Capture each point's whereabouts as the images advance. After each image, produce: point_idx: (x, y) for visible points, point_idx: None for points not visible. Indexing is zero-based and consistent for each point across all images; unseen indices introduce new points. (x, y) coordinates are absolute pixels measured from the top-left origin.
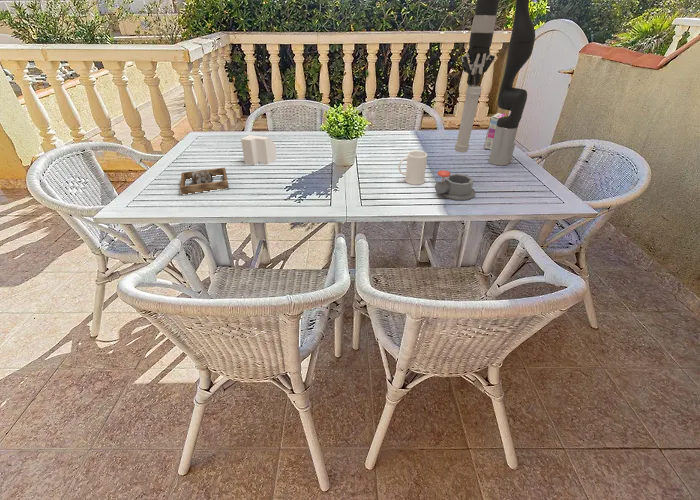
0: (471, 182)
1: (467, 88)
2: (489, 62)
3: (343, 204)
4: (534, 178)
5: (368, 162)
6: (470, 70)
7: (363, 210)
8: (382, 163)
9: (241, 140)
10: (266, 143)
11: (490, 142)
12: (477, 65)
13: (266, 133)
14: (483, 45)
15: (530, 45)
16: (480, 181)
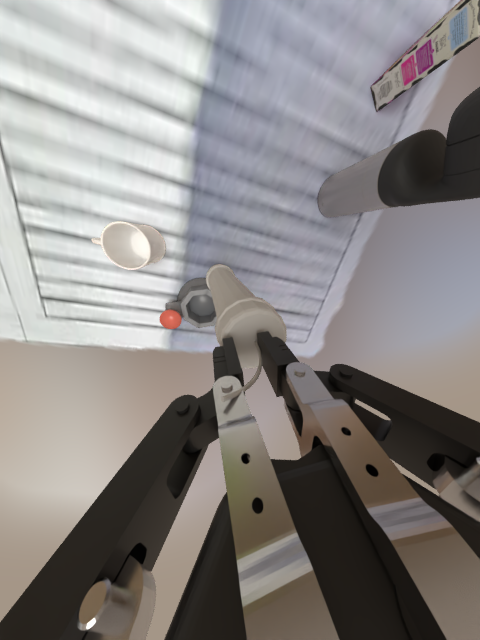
0: (215, 322)
1: (219, 337)
2: (409, 466)
3: (10, 308)
4: (330, 278)
5: (23, 73)
6: (214, 435)
7: (51, 329)
8: (73, 103)
9: None
10: None
11: (391, 89)
12: (308, 431)
13: None
14: None
15: None
16: (255, 271)
